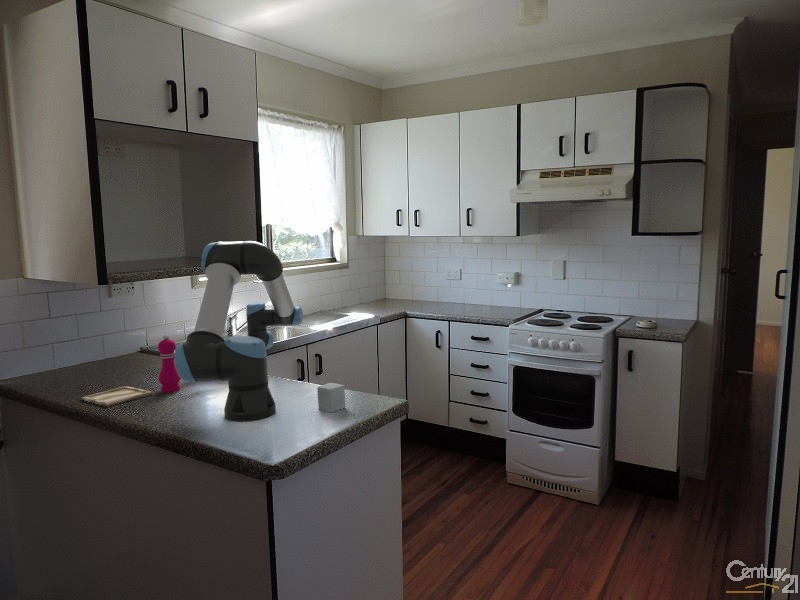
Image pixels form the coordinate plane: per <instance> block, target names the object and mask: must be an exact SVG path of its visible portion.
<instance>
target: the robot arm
mask: <svg viewBox="0 0 800 600" xmlns="http://www.w3.org/2000/svg"><path fill="white" fill-rule="evenodd" d="M200 264H201V269H202V273H203V274H204V275H205V277H206V279H207V281H206V285H205V289H204V293H203V297H202V301H201V305H200V307H199V311H198V315H197V320H196V321H195V322H196V323H195V327H194V330H193V331H192V332H189V334H188V335H187V336H186V340H185V342H181V343H178V344H176V349H175V351H174V352H175V357H174V363H175V366H176V370H177V373H178V375H179V377H180V378H181V379H180V380H182V382H183V381H184V382H189V383H190V382H192V383H193V382H194V383H198V382H222V381H223V382H227V384H228V393H227V395H226V397H227V398H226V399H225V400H226V401H225V404H224V411H223V412H224V413H223V415H224V418H225V419H226V420H229V421H233V422H249V421H256V420H261V419H265V418H268V417H271V416H272V415H275V413H276V412H277V409H276V408H277V407H276V402H275V399H274V397H273V394H272V392H271V389H270V387H269V376H268V353H267V350H269V349H270V348H271V347H273V345H274V341H275V340H274V339H275V338H274V337H273V333H272V332H271V331H270V330H268V329H267V327H277V326H279V327H281V326H283V327H284V326H286V327H287V326H289V327H290V326H291V327H293V326H300V325H301V324H302V323H303V309H302V307H301V306H297V305H295V306H294V302H293V300H292V297H291V295H290V292H289V289H288V287H287V283H286V281H285V278H284V275H283V272H284V268H283V263H282V260H280V257H278V255H277V254H276V253H275V252H274V251H273V250H272V249H271V248H270V247H268V246H266V245H265V244H264V243H261V242H258V241H255V240H245V241H243V240H242V241H217V242H216V241H215V242H210V243H208V244H207V245H206V246H205V247H204V248H203V251H202V254H201V263H200ZM247 275H248V276H252V275H253V276H256V277H257V278H258V279H259V280H260V281H261V282H262V284H263V285H264V288H265V291H266V293H267V295H268V298H269V299H270V302H271V304H272V306H269V307H268V306H267V307H266V304H265V302H250V303H248V304H247V305H246V307H245V308H246V314H245V315H246V328H247V334H240V335H234V336H227V337H226V338H224V337H223V334H224V330H225V326H226V322H227V317H228V313H229V308H230V306H231V305H230V304H231V299H232V297H233V296H232V295H233V291H234V286H235V285H237V284H238V283H239V282H240V280H241V277H242V276H247Z"/></svg>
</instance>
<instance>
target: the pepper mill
mask: <svg viewBox="0 0 800 600" xmlns="http://www.w3.org/2000/svg"><path fill="white" fill-rule="evenodd" d="M176 346H177V344H176V341H174V340H173V339H171V338H170V337H169V335H168V334H166V335H164V336H163V339H162V340H160V341H159V343H158V344H157V350H158V351H159V355H160V356H159V358H161V363H162V366H161V369H160V372H159V375H158V383H160V384H161V386H160V391H161V393H163V394H169V393H170V392H171V393H175V392H178V391H180V390H181V385H180V384H179V382H180V381H181V380H182V379H181V378H180V377H179V375H178V373H177V370H176V365H175V349H176Z"/></svg>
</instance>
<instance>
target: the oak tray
mask: <svg viewBox="0 0 800 600" xmlns="http://www.w3.org/2000/svg"><path fill="white" fill-rule="evenodd" d="M146 396H147V397H150V396H153V391H151V390H145V389H143V388H142V389H141V388H136V387H131V386H128V385H126V386H121V387H116V388H113V389H108V390H105V391H101V392H97V393H93V394H90V395H85V396H82V397H81V401H82V400H84V401H83V402H86V401H88V402H87V403H89V402H92V403H91V404H93V403H95V405H97V404H99V405H98V406H101V405H103V406H102V407H105V406H110V407H112V406H111V405H114V406H116V405H115V404H117V405H120V404H119V403H121V404H124V403H123V402H125V403H127V402H126V401H128V402H131V401H130V400H132V401H135V400H134V399H136V400H139V399H143V398H146ZM142 397H143V398H142ZM138 398H139V399H138Z"/></svg>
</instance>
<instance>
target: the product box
mask: <svg viewBox="0 0 800 600" xmlns="http://www.w3.org/2000/svg"><path fill="white" fill-rule="evenodd" d="M316 390H317V391H316V392H317V405H318V410H319V411H322V410H323V411H322V412H328V413H331V412H333V413H335V411H336V412H338V411H340V409H341V410H344V409H346V408H345V407H346V391H345V384H339V383H333V382H328V383H325V384H323V385H319V386H317V387H316ZM343 408H344V409H343ZM337 410H338V411H337Z"/></svg>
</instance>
